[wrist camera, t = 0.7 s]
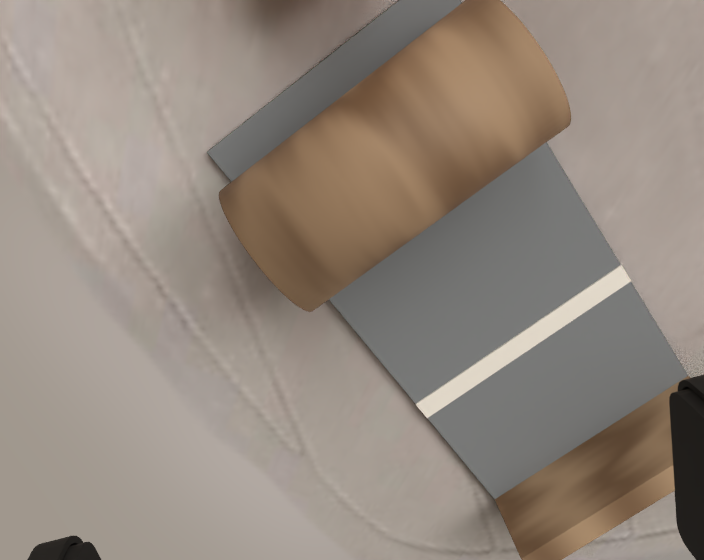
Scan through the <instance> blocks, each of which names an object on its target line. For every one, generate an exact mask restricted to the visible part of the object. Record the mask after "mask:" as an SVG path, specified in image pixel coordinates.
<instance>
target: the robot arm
mask: <svg viewBox="0 0 704 560" xmlns="http://www.w3.org/2000/svg"><path fill="white" fill-rule="evenodd" d="M669 407H670V423H671V438H672V454H673V470H674V486H675V502H676V518H677V526H678V530H679V533H680V535H681V538H682V540H683V542H684V544H685V545H686V547H687V548H688V550H689V551H690V552H691V553H692V555H693V556H694V557H695V559H696V560H704V375H701V376H697V377H693V378H689V379H685V380H682V381H681V382H679V385H678V391H677V392H673V393H671V394H670V397H669ZM28 560H101V559H100V557H99V555H98V553H97V551H96V549H95V547H94V546H93V544H92V543H90V542H84V543H83V541H82V540H81V539H80V538H79V537H77V536H69V537H65V538H62V539H58V540H54V541H50V542H46V543H42V544H39V545H37V546H36V547H35V548H34V549H33V551H32V552H31V554H30V556H29V558H28Z"/></svg>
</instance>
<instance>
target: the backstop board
mask: <svg viewBox="0 0 704 560" xmlns="http://www.w3.org/2000/svg"><path fill="white" fill-rule="evenodd" d="M689 378H690V377H689V376H687V377H686V378H684V379H682V380H685V379H689ZM682 380H681V381H682ZM681 381H679V382H681ZM679 382H678V383H676V384H675V385H673V386H671V387H670V388H668V389H667V390H665V391H664V392H662V393H661V394H659V395H657V396H656V397H654V398H653V399H651V400H650V401H648V402H646V403H645V404H643V405H642V406H640V407H639V408H637V409H635V410H634V411H632V412H631V413H629V414H628V415H626V416H624V417H623V418H621V419H620V420H618V421H617V422H615V423H614V424H612V425H610V426H609V427H607V428H606V429H604V430H603V431H601V432H599V433H598V434H596V435H595V436H593V437H592V438H590V439H588V440H587V441H585V442H584V443H582V444H581V445H579V446H578V447H576V448H574V449H573V450H571V451H570V452H568V453H567V454H565V455H563V456H562V457H560V458H559V459H557V460H556V461H554V462H552V463H551V464H549V465H548V466H546V467H545V468H543V469H542V470H540V471H538V472H537V473H535V474H534V475H532V476H531V477H529V478H527V479H526V480H524V481H523V482H521V483H520V484H518V485H516V486H515V487H513V488H512V489H510V490H509V491H507V492H506V493H504V494H502V495H501V496H499V497H498V498H496V499H495V501H496V503H497V506H498V508H499V510H500V512H501V515H502V517H503V519H504V521H505V524H506V526H507V528H508V530H509V533H510V535H511V537H512V539H513V542H514V544H515V546H516V548H517V551H518V553H519V555H520V557H521V559H522V560H562V559H563V558H565V557H567V556H568V555H570V554H572V553H573V552H575V551H576V550H578V549H580V548H581V547H583V546H585V545H586V544H588V543H590V542H591V541H593V540H594V539H596V538H598V537H599V536H601V535H603V534H604V533H606V532H607V531H609V530H611V529H612V528H614V527H616V526H617V525H619V524H621V523H622V522H624V521H625V520H627V519H629V518H630V517H632V516H634V515H635V514H637V513H639V512H640V511H642V510H643V509H645V508H647V507H648V506H650V505H652V504H653V503H655V502H656V501H658V500H660V499H661V498H663V497H665V496H666V495H668V494H670V493H671V492H673V491H674V490H675V486H674V470H673V454H672V438H671V423H670V407H669V397H670V394H671V393H673V392H677V391H678V385H679Z"/></svg>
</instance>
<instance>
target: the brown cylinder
mask: <svg viewBox="0 0 704 560" xmlns="http://www.w3.org/2000/svg"><path fill="white" fill-rule="evenodd" d="M570 122H571V112H570V107H569V103H568V100H567V97H566V94H565V92H564V89H563V87H562V85H561V83H560V80H559V78H558V76H557V74H556V73H555V71H554V69H553V67H552V65H551V63H550V62H549V60H548V58H547V57H546V55H545V54H544V52H543V51H542V49H541V47H540V46H539V44H538V43H537V42H536V40H535V39H534V37H533V36H532V35H531V33H530V32H529V31H528V30H527V28H526V27H525V26H524V25H523V23H522V22H521V21H520V20H519V19H518V18H517V16H516V15H515V14H514V13H513V12H512V11H511V10H510V9H509V8H508V7H507V6H506V5H505V4H504V3H502V2H501V1H500V0H465V1H464V2H463V3H461V4H460V5H459V6H457V7H456V8H455V9H454V10H452V11H451V12H450V13H448V14H447V15H446V16H445V17H443V18H442V19H441V20H439V21H438V22H437V23H436V24H434V25H433V26H432V27H430V28H429V29H428V30H427V31H425V32H424V33H423V34H421V35H420V36H419V37H418V38H416V39H415V40H414V41H412V42H411V43H410V44H408V45H407V46H406V47H405V48H403V49H402V50H401V51H399V52H398V53H397V54H396V55H394V56H393V57H392V58H390V59H389V60H388V61H387V62H385V63H384V64H383V65H381V66H380V67H379V68H378V69H376V70H375V71H374V72H372V73H371V74H370V75H369V76H367V77H366V78H365V79H363V80H362V81H361V82H360V83H358V84H357V85H356V86H354V87H353V88H352V89H351V90H349V91H348V92H347V93H345V94H344V95H343V96H341V97H340V98H339V99H338V100H336V101H335V102H334V103H332V104H331V105H330V106H329V107H327V108H326V109H325V110H323V111H322V112H321V113H320V114H318V115H317V116H316V117H314V118H313V119H312V120H311V121H309V122H308V123H307V124H305V125H304V126H303V127H302V128H300V129H299V130H298V131H296V132H295V133H294V134H293V135H291V136H290V137H289V138H287V139H286V140H285V141H284V142H282V143H281V144H280V145H278V146H277V147H276V148H274V149H273V150H272V151H271V152H269V153H268V154H267V155H265V156H264V157H263V158H262V159H260V160H259V161H258V162H256V163H255V164H254V165H253V166H251V167H250V168H249V169H247V170H246V171H245V172H244V173H242V174H241V175H240V176H238V177H237V178H236V179H235V180H233V181H232V182H231V183H229V184H228V185H227V186H226V187H224V188H223V189H222V190H221V191H220V192H219V199H220V203H221V206H222V209H223V211H224V214H225V216H226V218H227V220H228V222H229V224H230V225H231V227H232V229H233V231H234V232H235V234H236V235H237V237H238V239H239V240H240V242H241V243H242V245H243V246H244V248H245V249H246V251H247V252H248V253H249V255H250V256H251V257H252V259H253V260H254V261H255V263H256V264H257V265H258V266H259V268H260V269H261V270H262V271H263V273H264V274H265V275H266V276H267V277H268V278H269V279H270V281H271V282H272V283H273V284H274V285H275V286H276V287H277V288H278V289H279V290H280V291H281V292H282V293H283V294H284V295H285V296H286V297H287V298H288V299H289V300H291V301H292V302H293V303H294V304H296V305H297V306H298V307H300V308H301V309H303V310H305V311H309V312H311V311H313V310H315V309H316V308H318V307H319V306H320V305H322V304H323V303H324V302H326V301H327V300H329V299H330V298H331V297H333V296H334V295H336V294H337V293H338V292H340V291H341V290H342V289H344V288H345V287H347V286H348V285H349V284H351V283H352V282H354V281H355V280H356V279H358V278H359V277H360V276H362V275H363V274H365V273H366V272H367V271H369V270H370V269H371V268H373V267H374V266H376V265H377V264H378V263H380V262H381V261H383V260H384V259H385V258H387V257H388V256H389V255H391V254H392V253H394V252H395V251H396V250H398V249H399V248H401V247H402V246H403V245H405V244H406V243H407V242H409V241H410V240H412V239H413V238H414V237H416V236H417V235H419V234H420V233H421V232H423V231H424V230H425V229H427V228H428V227H430V226H431V225H432V224H434V223H435V222H436V221H438V220H439V219H441V218H442V217H443V216H445V215H446V214H448V213H449V212H450V211H452V210H453V209H454V208H456V207H457V206H459V205H460V204H461V203H463V202H464V201H466V200H467V199H468V198H470V197H471V196H472V195H474V194H475V193H477V192H478V191H479V190H481V189H482V188H484V187H485V186H486V185H488V184H489V183H490V182H492V181H493V180H495V179H496V178H497V177H499V176H500V175H502V174H503V173H504V172H506V171H507V170H508V169H510V168H511V167H513V166H514V165H515V164H517V163H518V162H519V161H521V160H522V159H524V158H525V157H526V156H528V155H529V154H531V153H532V152H533V151H535V150H536V149H537V148H539V147H540V146H542V145H543V144H544V143H546V142H547V141H549V140H550V139H551V138H553V137H554V136H555V135H557V134H558V133H560V132H561V131H562V130H564V129H565V128H567V127H568V126H569V124H570Z"/></svg>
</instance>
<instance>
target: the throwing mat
mask: <svg viewBox="0 0 704 560" xmlns="http://www.w3.org/2000/svg"><path fill="white" fill-rule="evenodd" d="M461 3H462V2H461V1H460V0H399V1H397V2H396V3H395V4H394V5H392V6H391V7H390V8H389V9H387V10H386V11H385V12H383V13H382V14H381V15H380V16H378V17H377V18H376V19H375V20H373V21H372V22H371V23H370V24H368V25H367V26H366V27H364V28H363V29H362V30H361V31H359V32H358V33H357V34H356V35H354V36H353V37H352V38H351V39H349V40H348V41H347V42H345V43H344V44H343V45H342V46H340V47H339V48H338V49H337V50H335V51H334V52H333V53H332V54H330V55H329V56H328V57H327V58H325V59H324V60H323V61H321V62H320V63H319V64H318V65H316V66H315V67H314V68H313V69H311V70H310V71H309V72H308V73H306V74H305V75H304V76H302V77H301V78H300V79H299V80H297V81H296V82H295V83H294V84H292V85H291V86H290V87H289V88H287V89H286V90H285V91H283V92H282V93H281V94H280V95H278V96H277V97H276V98H275V99H273V100H272V101H271V102H270V103H268V104H267V105H266V106H264V107H263V108H262V109H261V110H259V111H258V112H257V113H256V114H254V115H253V116H252V117H251V118H249V119H248V120H247V121H245V122H244V123H243V124H242V125H240V126H239V127H238V128H237V129H235V130H234V131H233V132H232V133H230V134H229V135H228V136H227V137H225V138H224V139H223V140H221V141H220V142H219V143H218V144H216V145H215V146H214V147H213V148H211V149H210V150H209V151H208V152H207V153H208V154H209V155H210V156H211V158H212V159H213V160H214V161H215V162H216V164H217V165H218V166H219V167H220V169H221V170H222V171H223V172H224V173H225V175H226V176H227V177H228V178H229V179H230V181H231V182H232V181H233V180H235V179H236V178H237V177H238V176H240V175H241V174H242V173H244V172H245V171H246V170H247V169H249V168H250V167H251V166H253V165H254V164H255V163H256V162H258V161H259V160H260V159H262V158H263V157H264V156H265V155H267V154H268V153H269V152H271V151H272V150H273V149H274V148H276V147H277V146H278V145H280V144H281V143H282V142H284V141H285V140H286V139H287V138H289V137H290V136H291V135H293V134H294V133H295V132H296V131H298V130H299V129H300V128H302V127H303V126H304V125H305V124H307V123H308V122H309V121H311V120H312V119H313V118H314V117H316V116H317V115H318V114H320V113H321V112H322V111H323V110H325V109H326V108H327V107H329V106H330V105H331V104H332V103H334V102H335V101H336V100H338V99H339V98H340V97H341V96H343V95H344V94H345V93H347V92H348V91H349V90H351V89H352V88H353V87H354V86H356V85H357V84H358V83H360V82H361V81H362V80H363V79H365V78H366V77H367V76H369V75H370V74H371V73H372V72H374V71H375V70H376V69H378V68H379V67H380V66H381V65H383V64H384V63H385V62H387V61H388V60H389V59H390V58H392V57H393V56H394V55H396V54H397V53H398V52H399V51H401V50H402V49H403V48H405V47H406V46H407V45H408V44H410V43H411V42H412V41H414V40H415V39H416V38H418V37H419V36H420V35H421V34H423V33H424V32H425V31H427V30H428V29H429V28H430V27H432V26H433V25H434V24H436V23H437V22H438V21H439V20H441V19H442V18H443V17H445V16H446V15H447V14H448V13H450V12H451V11H452V10H454V9H455V8H456V7H457V6H459V5H460V4H461ZM329 300H330V301H331V302H332V304H333V305H334V306H335V307H336V308H337V310H338V311H339V312H340V313H341V315H342V316H343V317H344V318H345V319H346V321H347V322H348V323H349V324H350V325H351V327H352V328H353V329H354V330H355V331H356V333H357V334H358V335H359V336H360V337H361V339H362V340H363V341H364V342H365V343H366V345H367V346H368V347H369V348H370V350H371V351H372V352H373V353H374V354H375V356H376V357H377V358H378V359H379V360H380V362H381V363H382V364H383V365H384V366H385V368H386V369H387V370H388V371H389V372H390V374H391V375H392V376H393V377H394V378H395V380H396V381H397V382H398V383H399V384H400V386H401V387H402V388H403V389H404V391H405V392H406V393H407V394H408V395H409V397H410V398H411V399H412V400H413V401H414V403H415V404H416V406H417V407H418V408H419V409H420V410H421V412H422V413H423V414H424V415H425V416H426V418H428V419H429V421H430V422H431V423H432V424H433V426H434V427H435V428H436V429H437V430H438V432H439V433H440V434H441V435H442V436H443V438H444V439H445V440H446V441H447V442H448V444H449V445H450V446H451V447H452V448H453V450H454V451H455V452H456V453H457V454H458V456H459V457H460V458H461V459H462V461H463V462H464V463H465V464H466V465H467V467H468V468H469V469H470V470H471V471H472V473H473V474H474V475H475V476H476V477H477V479H478V480H479V481H480V482H481V483H482V485H483V486H484V487H485V488H486V489H487V491H488V492H489V493H490V494H491V496H492V497H493V498H494V499H496V498H498V497H499V496H501V495H502V494H504V493H506V492H507V491H509V490H510V489H512V488H513V487H515V486H516V485H518V484H520V483H521V482H523V481H524V480H526V479H527V478H529V477H531V476H532V475H534V474H535V473H537V472H538V471H540V470H542V469H543V468H545V467H546V466H548V465H549V464H551V463H552V462H554V461H556V460H557V459H559V458H560V457H562V456H563V455H565V454H567V453H568V452H570V451H571V450H573V449H574V448H576V447H578V446H579V445H581V444H582V443H584V442H585V441H587V440H588V439H590V438H592V437H593V436H595V435H596V434H598V433H599V432H601V431H603V430H604V429H606V428H607V427H609V426H610V425H612V424H614V423H615V422H617V421H618V420H620V419H621V418H623V417H624V416H626V415H628V414H629V413H631V412H632V411H634V410H635V409H637V408H639V407H640V406H642V405H643V404H645V403H646V402H648V401H650V400H651V399H653V398H654V397H656V396H657V395H659V394H661V393H662V392H664V391H665V390H667V389H668V388H670V387H671V386H673V385H675V384H676V383H678V382H679V381H681V380H682V379H684V378H686V377H687V376H688V375H687V373H686V371H685V370H684V368H683V366H682V365H681V363H680V361H679V360H678V358H677V357H676V355H675V353H674V352H673V350H672V348H671V347H670V345H669V343H668V342H667V340H666V338H665V337H664V335H663V333H662V332H661V330H660V329H659V327H658V325H657V324H656V322H655V320H654V319H653V317H652V315H651V314H650V312H649V310H648V309H647V307H646V305H645V304H644V302H643V300H642V299H641V297H640V296H639V294H638V292H637V291H636V289H635V287H634V286H633V284H632V282H631V280H630V278H629V277H628V275H627V273H626V272H625V270H624V268H623V267H622V265H621V264H620V263H619V261H618V259H617V258H616V256H615V254H614V253H613V251H612V249H611V248H610V246H609V244H608V243H607V241H606V240H605V238H604V236H603V235H602V233H601V231H600V230H599V228H598V226H597V225H596V223H595V221H594V220H593V218H592V216H591V215H590V213H589V211H588V210H587V208H586V207H585V205H584V203H583V202H582V200H581V198H580V197H579V195H578V193H577V192H576V190H575V188H574V187H573V185H572V183H571V182H570V180H569V179H568V177H567V175H566V174H565V172H564V170H563V169H562V167H561V165H560V164H559V162H558V160H557V159H556V157H555V155H554V154H553V152H552V151H551V149H550V147H549V146H548V144H547V142H546V143H544V144H543V145H542V146H540V147H539V148H537V149H536V150H535V151H533V152H532V153H531V154H529V155H528V156H526V157H525V158H524V159H522V160H521V161H519V162H518V163H517V164H515V165H514V166H513V167H511V168H510V169H508V170H507V171H506V172H504V173H503V174H502V175H500V176H499V177H497V178H496V179H495V180H493V181H492V182H490V183H489V184H488V185H486V186H485V187H484V188H482V189H481V190H479V191H478V192H477V193H475V194H474V195H472V196H471V197H470V198H468V199H467V200H466V201H464V202H463V203H461V204H460V205H459V206H457V207H456V208H454V209H453V210H452V211H450V212H449V213H448V214H446V215H445V216H443V217H442V218H441V219H439V220H438V221H436V222H435V223H434V224H432V225H431V226H430V227H428V228H427V229H425V230H424V231H423V232H421V233H420V234H419V235H417V236H416V237H414V238H413V239H412V240H410V241H409V242H407V243H406V244H405V245H403V246H402V247H401V248H399V249H398V250H396V251H395V252H394V253H392V254H391V255H389V256H388V257H387V258H385V259H384V260H383V261H381V262H380V263H378V264H377V265H376V266H374V267H373V268H371V269H370V270H369V271H367V272H366V273H365V274H363V275H362V276H360V277H359V278H358V279H356V280H355V281H354V282H352V283H351V284H349V285H348V286H347V287H345V288H344V289H342V290H341V291H340V292H338V293H337V294H336V295H334V296H333V297H331V298H330V299H329Z"/></svg>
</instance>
